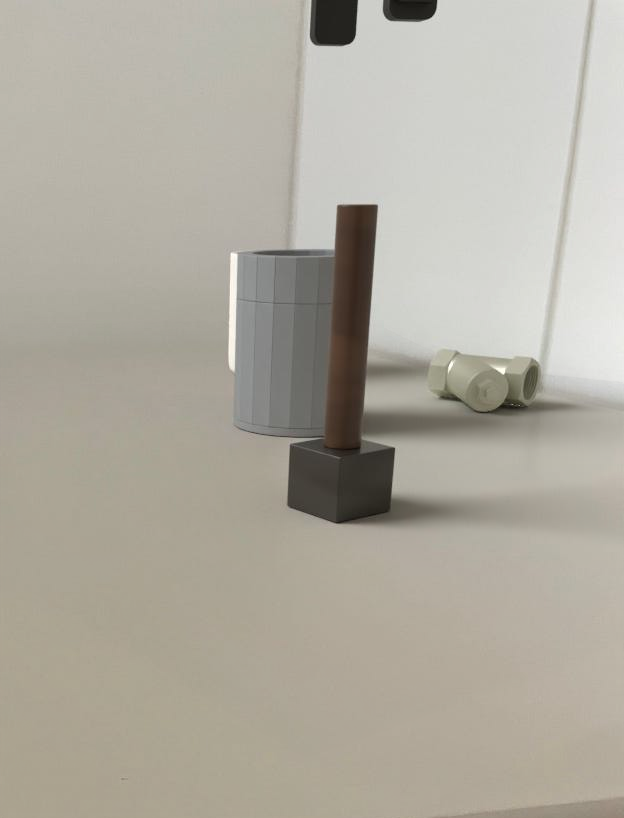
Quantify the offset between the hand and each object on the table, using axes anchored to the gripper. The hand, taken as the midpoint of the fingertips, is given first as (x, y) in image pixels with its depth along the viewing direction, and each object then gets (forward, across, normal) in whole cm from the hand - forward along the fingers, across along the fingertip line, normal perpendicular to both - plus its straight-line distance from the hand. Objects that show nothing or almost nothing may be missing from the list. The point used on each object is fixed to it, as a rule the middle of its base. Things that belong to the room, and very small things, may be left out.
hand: (367, 33), depth 50 cm
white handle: (+23, +43, -12) cm, 50 cm away
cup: (+23, +22, -6) cm, 32 cm away
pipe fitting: (+23, +25, -22) cm, 40 cm away
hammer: (+23, 0, 0) cm, 23 cm away
